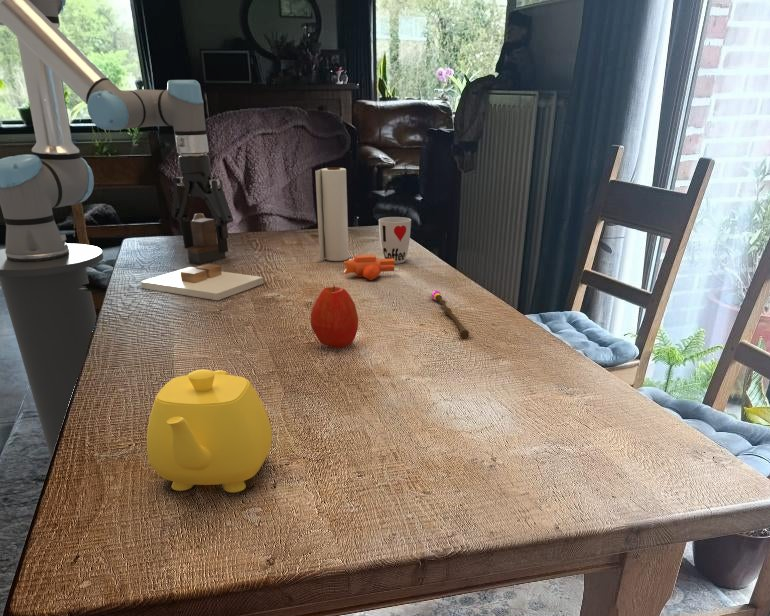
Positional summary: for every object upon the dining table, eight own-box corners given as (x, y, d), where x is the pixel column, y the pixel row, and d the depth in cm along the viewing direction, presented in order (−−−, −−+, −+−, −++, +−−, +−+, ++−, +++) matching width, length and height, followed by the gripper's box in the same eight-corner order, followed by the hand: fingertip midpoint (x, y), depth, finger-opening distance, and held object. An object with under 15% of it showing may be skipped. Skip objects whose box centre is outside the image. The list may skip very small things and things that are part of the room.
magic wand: (469, 341, 129) (435, 296, 154) (473, 332, 128) (438, 287, 153) (458, 338, 128) (425, 293, 153) (462, 328, 127) (429, 284, 152)
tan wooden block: (196, 276, 163) (195, 267, 162) (208, 272, 166) (207, 263, 165) (210, 278, 161) (209, 269, 160) (221, 274, 164) (220, 265, 163)
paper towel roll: (349, 256, 186) (346, 166, 175) (348, 261, 181) (345, 169, 170) (322, 256, 186) (317, 166, 175) (319, 261, 181) (315, 169, 170)
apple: (307, 352, 122) (303, 289, 117) (318, 337, 129) (314, 277, 124) (354, 354, 121) (352, 291, 116) (362, 339, 128) (361, 278, 123)
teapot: (285, 443, 92) (277, 348, 86) (249, 526, 75) (235, 416, 69) (183, 440, 93) (166, 346, 86) (124, 522, 76) (98, 413, 70)
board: (142, 288, 160) (140, 281, 159) (190, 273, 172) (189, 266, 171) (217, 300, 151) (216, 293, 150) (263, 283, 163) (262, 277, 162)
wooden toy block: (189, 263, 181) (183, 222, 176) (215, 255, 188) (210, 216, 183) (199, 264, 179) (193, 223, 174) (225, 256, 187) (220, 217, 182)
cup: (376, 264, 178) (375, 222, 173) (382, 257, 185) (381, 216, 180) (408, 265, 177) (408, 223, 172) (412, 258, 184) (413, 217, 179)
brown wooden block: (181, 281, 159) (180, 271, 158) (193, 277, 162) (192, 268, 161) (195, 283, 157) (193, 274, 156) (207, 279, 160) (206, 270, 159)
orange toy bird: (393, 248, 167) (342, 250, 165) (398, 266, 162) (346, 268, 160) (391, 268, 170) (342, 270, 169) (397, 285, 166) (346, 288, 164)
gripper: (146, 153, 173) (162, 248, 184) (220, 158, 163) (232, 257, 175) (168, 151, 178) (182, 242, 190) (241, 155, 169) (251, 251, 180)
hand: (206, 249), depth 182 cm, fingers open, 11 cm apart
